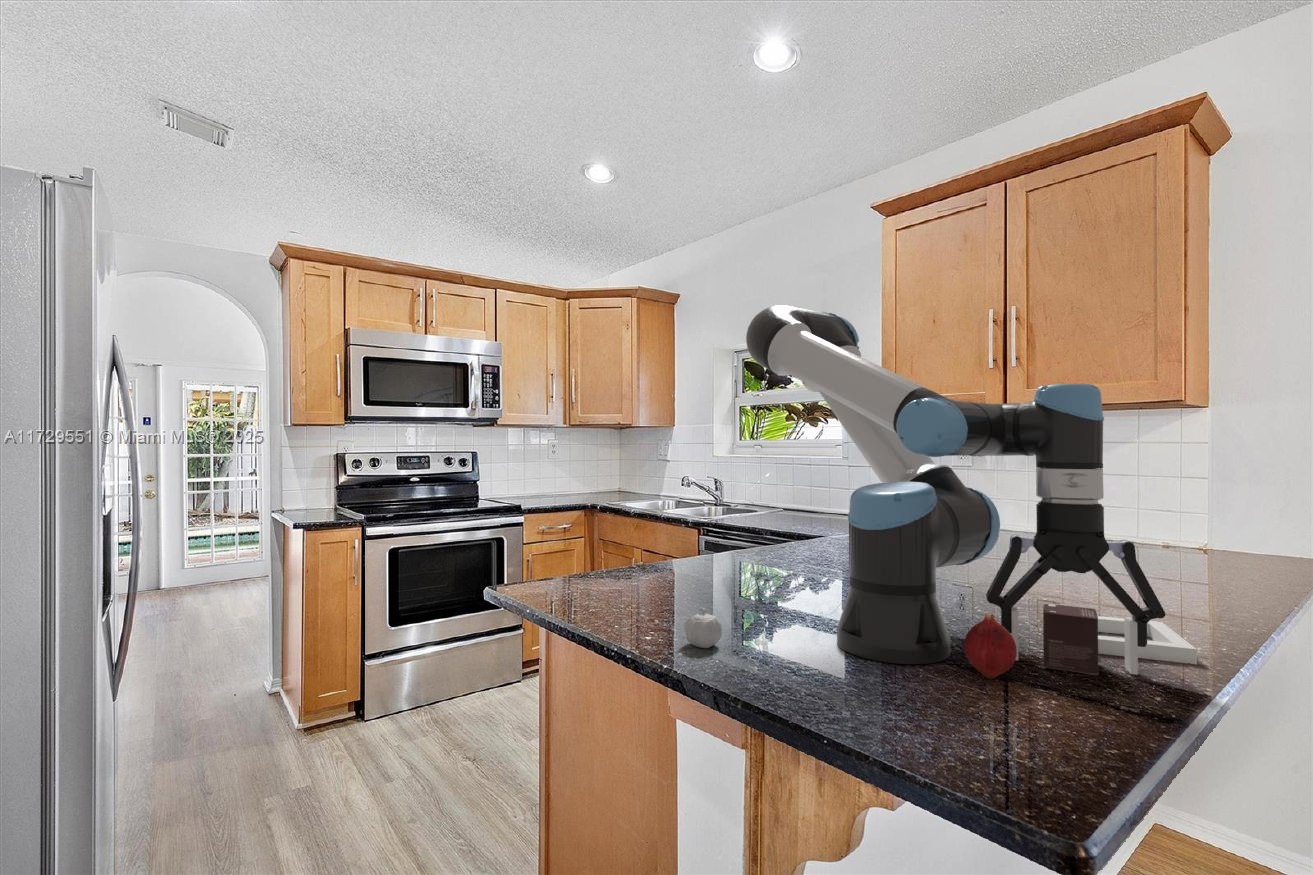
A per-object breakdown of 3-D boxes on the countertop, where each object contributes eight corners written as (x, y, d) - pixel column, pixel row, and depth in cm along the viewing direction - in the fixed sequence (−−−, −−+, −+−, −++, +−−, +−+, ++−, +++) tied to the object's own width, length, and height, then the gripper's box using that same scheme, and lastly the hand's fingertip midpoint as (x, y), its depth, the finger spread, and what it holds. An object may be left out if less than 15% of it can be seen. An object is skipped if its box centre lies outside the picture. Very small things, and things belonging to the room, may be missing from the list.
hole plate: (1064, 649, 91) (1064, 635, 91) (1048, 623, 105) (1048, 611, 105) (1197, 664, 85) (1196, 649, 85) (1161, 634, 99) (1161, 621, 99)
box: (1099, 677, 80) (1098, 618, 81) (1043, 668, 84) (1042, 611, 84) (1096, 663, 86) (1096, 608, 86) (1044, 655, 89) (1043, 602, 89)
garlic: (687, 638, 96) (688, 603, 96) (724, 640, 95) (724, 605, 95) (681, 650, 90) (681, 613, 90) (719, 653, 89) (719, 615, 89)
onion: (1024, 689, 76) (1023, 621, 76) (971, 685, 77) (971, 618, 77) (1007, 672, 82) (1007, 609, 82) (959, 669, 83) (958, 606, 83)
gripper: (967, 499, 87) (968, 659, 86) (1195, 506, 77) (1198, 687, 76) (965, 496, 93) (966, 644, 93) (1174, 502, 84) (1177, 668, 83)
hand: (1070, 664), depth 85 cm, fingers open, 12 cm apart
